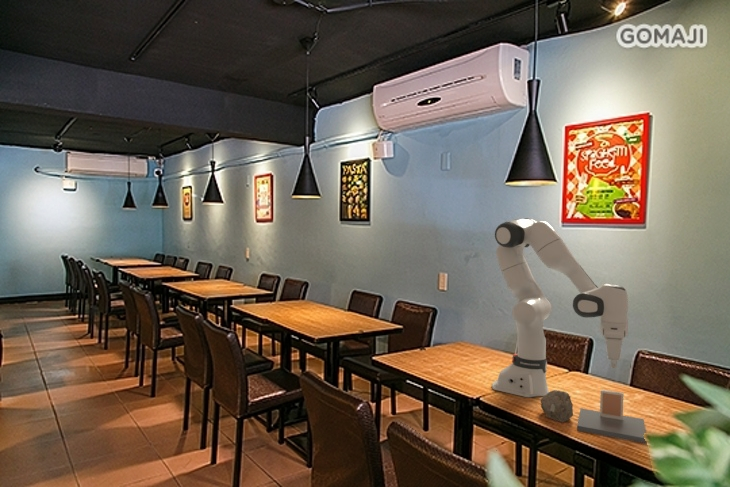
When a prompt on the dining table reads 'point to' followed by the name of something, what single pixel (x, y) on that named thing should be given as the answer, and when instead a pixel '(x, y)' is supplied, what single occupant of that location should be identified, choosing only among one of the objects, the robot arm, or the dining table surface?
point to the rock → (557, 405)
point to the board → (611, 426)
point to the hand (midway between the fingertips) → (613, 367)
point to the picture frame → (611, 404)
